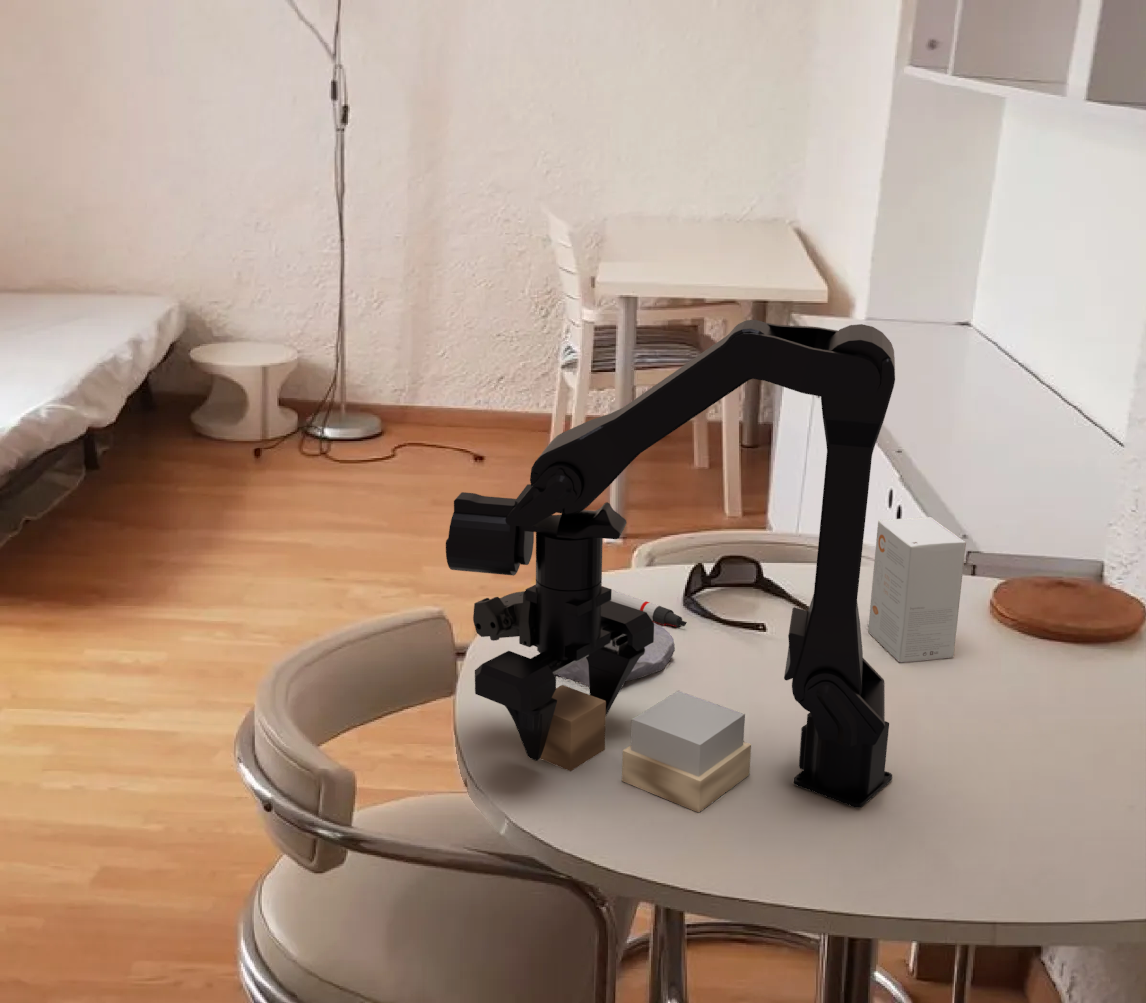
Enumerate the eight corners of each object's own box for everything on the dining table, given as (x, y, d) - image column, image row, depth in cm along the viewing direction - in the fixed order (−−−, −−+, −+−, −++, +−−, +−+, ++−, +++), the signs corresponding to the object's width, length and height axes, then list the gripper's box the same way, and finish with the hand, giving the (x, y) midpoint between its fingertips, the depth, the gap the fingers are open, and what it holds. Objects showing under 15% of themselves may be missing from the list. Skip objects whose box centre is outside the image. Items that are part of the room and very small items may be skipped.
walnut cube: (604, 750, 126) (605, 701, 125) (570, 772, 123) (570, 721, 121) (562, 733, 129) (562, 684, 128) (527, 754, 126) (527, 704, 124)
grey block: (743, 744, 121) (745, 714, 120) (698, 776, 116) (700, 744, 115) (676, 720, 125) (677, 690, 124) (630, 750, 120) (631, 719, 119)
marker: (573, 598, 160) (573, 581, 159) (585, 592, 161) (585, 576, 161) (681, 636, 150) (681, 619, 150) (692, 630, 152) (692, 613, 151)
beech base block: (749, 774, 122) (751, 744, 121) (698, 812, 116) (700, 781, 115) (674, 746, 127) (675, 716, 126) (621, 781, 121) (622, 750, 120)
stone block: (680, 673, 145) (605, 631, 150) (689, 635, 143) (612, 594, 148) (612, 719, 137) (535, 672, 142) (620, 679, 135) (541, 633, 140)
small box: (954, 658, 145) (968, 542, 141) (898, 664, 144) (909, 546, 140) (920, 627, 153) (931, 515, 148) (866, 631, 151) (876, 519, 147)
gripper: (563, 528, 132) (562, 677, 137) (425, 587, 118) (429, 750, 123) (660, 556, 125) (654, 711, 131) (526, 622, 112) (526, 792, 117)
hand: (566, 738), depth 126 cm, fingers open, 9 cm apart
